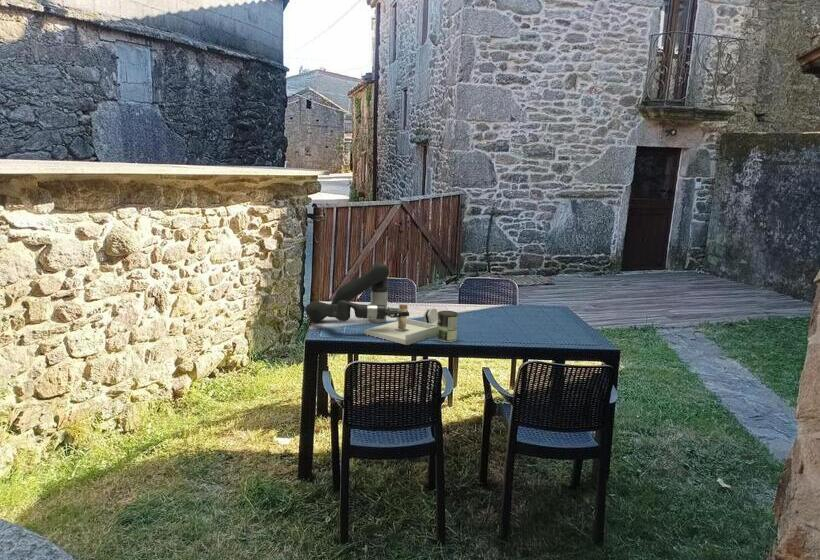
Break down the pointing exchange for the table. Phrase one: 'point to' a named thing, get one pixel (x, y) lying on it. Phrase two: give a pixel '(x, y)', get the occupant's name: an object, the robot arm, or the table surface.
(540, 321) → the table surface
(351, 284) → the robot arm
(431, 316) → the hinge
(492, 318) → the table surface
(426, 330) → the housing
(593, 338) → the table surface
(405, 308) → the gear shaft
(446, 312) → the coffee can
